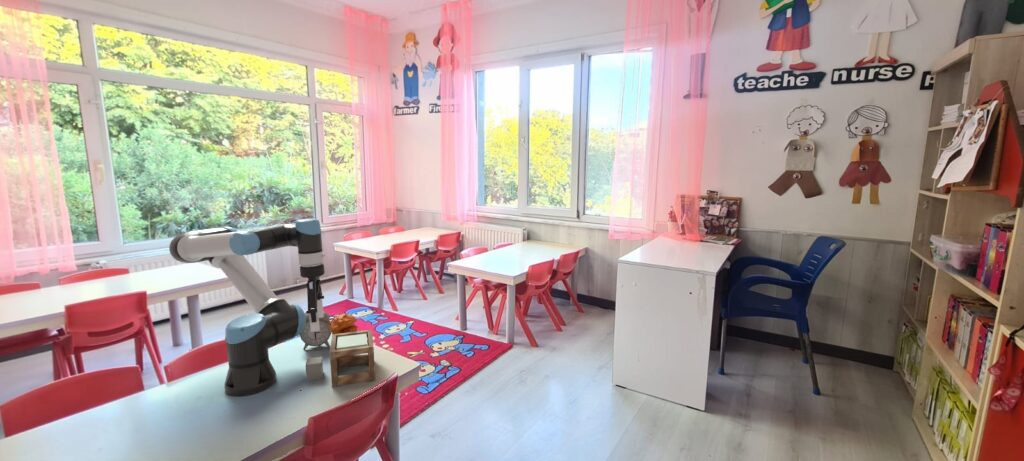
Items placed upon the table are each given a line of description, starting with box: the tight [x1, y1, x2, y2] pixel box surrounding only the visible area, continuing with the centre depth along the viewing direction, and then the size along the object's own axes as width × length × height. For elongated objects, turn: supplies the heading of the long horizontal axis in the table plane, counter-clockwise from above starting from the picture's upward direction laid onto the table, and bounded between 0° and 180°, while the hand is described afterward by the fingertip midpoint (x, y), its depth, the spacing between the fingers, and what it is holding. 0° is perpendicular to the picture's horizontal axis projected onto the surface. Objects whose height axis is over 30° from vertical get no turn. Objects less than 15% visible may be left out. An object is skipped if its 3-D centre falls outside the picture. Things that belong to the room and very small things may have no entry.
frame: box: [329, 329, 376, 388], centre depth 154 cm, size 14×16×12 cm
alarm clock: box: [299, 311, 332, 351], centre depth 175 cm, size 12×7×15 cm, turn 104°
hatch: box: [337, 334, 368, 350], centre depth 154 cm, size 10×10×1 cm
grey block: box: [305, 356, 324, 382], centre depth 152 cm, size 5×5×6 cm
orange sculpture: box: [330, 311, 359, 358], centre depth 166 cm, size 11×11×18 cm
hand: (317, 323), depth 149 cm, fingers open, 13 cm apart
